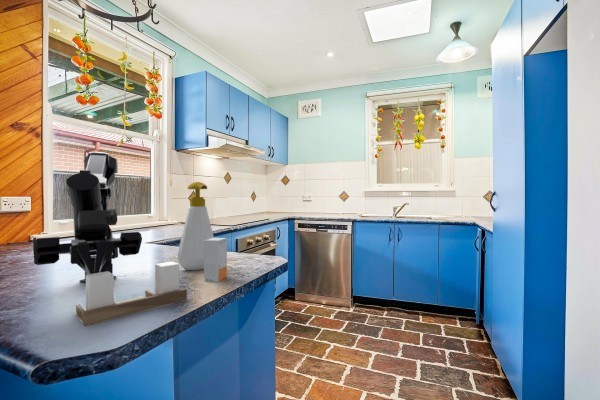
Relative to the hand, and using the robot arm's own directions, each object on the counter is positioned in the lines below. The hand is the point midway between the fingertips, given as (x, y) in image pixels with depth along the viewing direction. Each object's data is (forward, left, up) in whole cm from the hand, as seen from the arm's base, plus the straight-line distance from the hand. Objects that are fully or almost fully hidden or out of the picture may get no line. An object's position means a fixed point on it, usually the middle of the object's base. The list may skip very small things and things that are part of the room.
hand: (94, 279), depth 60 cm
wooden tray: (+5, +5, -7) cm, 10 cm away
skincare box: (+11, +29, -7) cm, 31 cm away
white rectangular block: (+9, +10, -7) cm, 15 cm away
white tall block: (+2, -1, -7) cm, 7 cm away
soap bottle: (-1, +39, -7) cm, 39 cm away
